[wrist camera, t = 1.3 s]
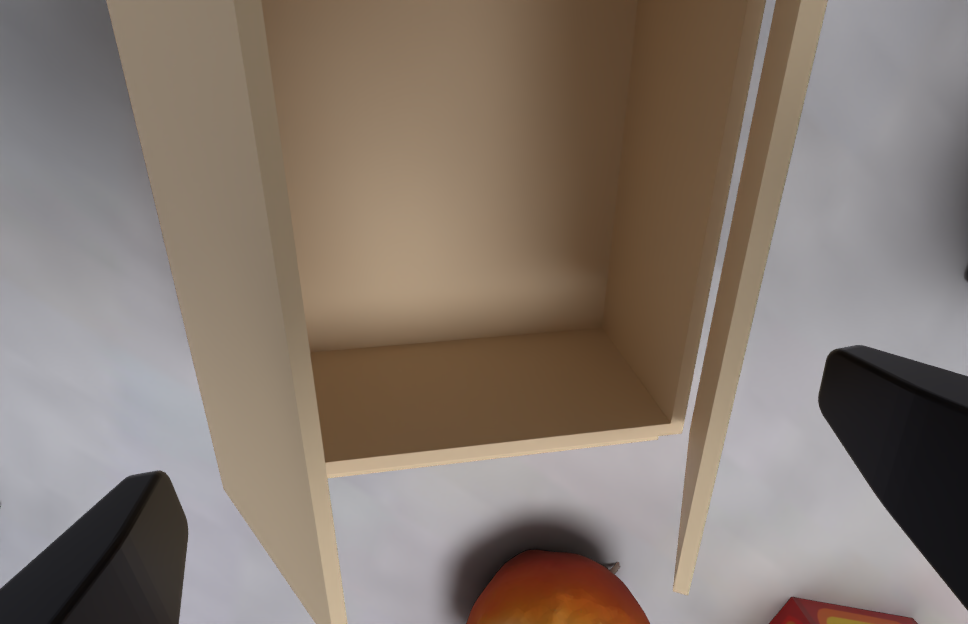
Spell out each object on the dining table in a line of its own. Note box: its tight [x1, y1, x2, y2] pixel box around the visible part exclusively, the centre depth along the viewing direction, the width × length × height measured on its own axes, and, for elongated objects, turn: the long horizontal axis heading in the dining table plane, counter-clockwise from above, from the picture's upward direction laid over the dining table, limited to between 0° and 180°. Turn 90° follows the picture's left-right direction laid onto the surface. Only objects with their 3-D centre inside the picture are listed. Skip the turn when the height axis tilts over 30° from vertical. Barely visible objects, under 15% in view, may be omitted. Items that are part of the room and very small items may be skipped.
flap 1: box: [106, 0, 347, 624], centre depth 11 cm, size 6×13×1 cm
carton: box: [261, 0, 766, 478], centre depth 16 cm, size 12×15×6 cm
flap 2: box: [673, 0, 828, 595], centre depth 12 cm, size 6×13×1 cm
